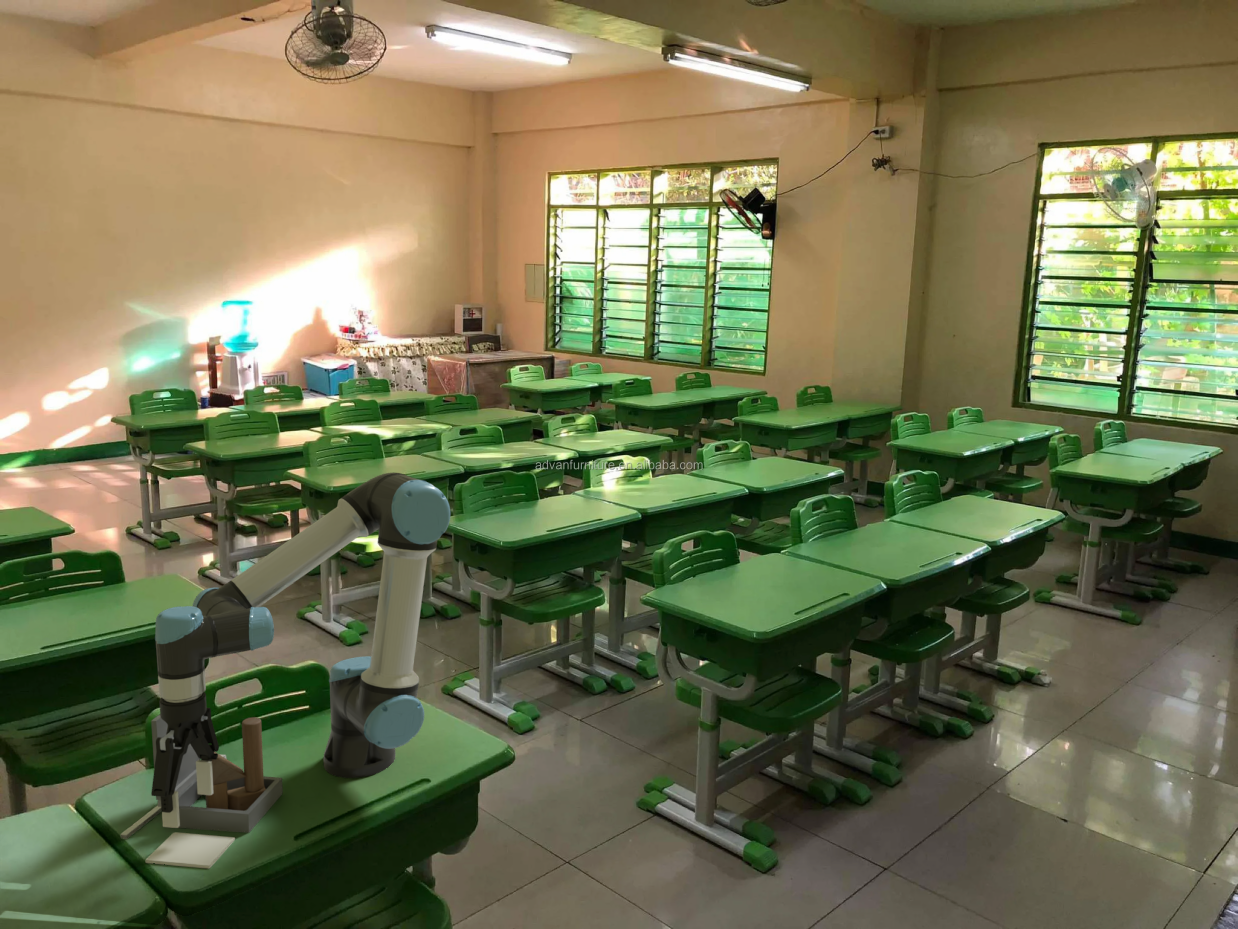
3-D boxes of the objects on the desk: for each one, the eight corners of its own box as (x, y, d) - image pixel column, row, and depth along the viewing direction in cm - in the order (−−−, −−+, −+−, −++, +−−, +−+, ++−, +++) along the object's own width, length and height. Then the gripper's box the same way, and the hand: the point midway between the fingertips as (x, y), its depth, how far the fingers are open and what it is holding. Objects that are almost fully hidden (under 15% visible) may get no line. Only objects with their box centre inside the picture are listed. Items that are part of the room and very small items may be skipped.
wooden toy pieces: (206, 812, 186) (201, 726, 183) (263, 798, 192) (259, 714, 189) (209, 821, 183) (204, 733, 180) (267, 806, 189) (263, 722, 186)
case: (284, 794, 194) (280, 695, 190) (249, 833, 179) (244, 727, 176) (199, 787, 195) (194, 689, 192) (157, 825, 181) (151, 720, 177)
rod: (162, 807, 188) (162, 801, 188) (167, 808, 188) (167, 802, 188) (120, 840, 177) (120, 834, 176) (126, 841, 176) (126, 835, 176)
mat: (235, 840, 177) (234, 837, 177) (209, 868, 168) (209, 865, 168) (174, 835, 178) (173, 832, 178) (145, 862, 169) (145, 859, 169)
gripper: (197, 668, 180) (203, 776, 183) (122, 721, 157) (130, 843, 161) (235, 671, 179) (240, 779, 183) (165, 724, 156) (172, 846, 160)
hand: (189, 809), depth 172 cm, fingers open, 11 cm apart
